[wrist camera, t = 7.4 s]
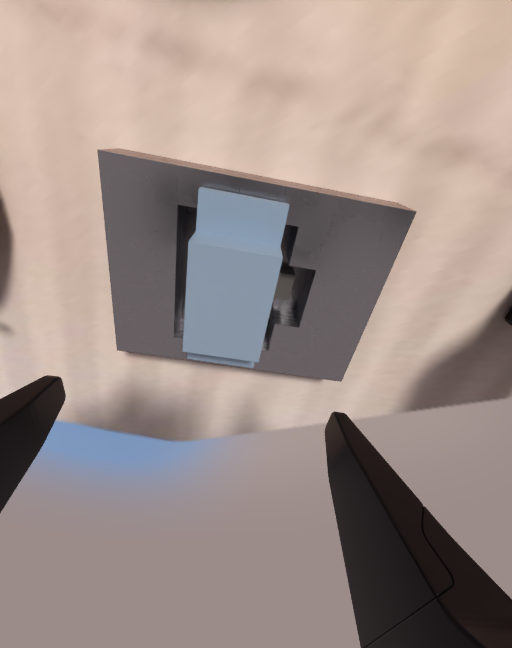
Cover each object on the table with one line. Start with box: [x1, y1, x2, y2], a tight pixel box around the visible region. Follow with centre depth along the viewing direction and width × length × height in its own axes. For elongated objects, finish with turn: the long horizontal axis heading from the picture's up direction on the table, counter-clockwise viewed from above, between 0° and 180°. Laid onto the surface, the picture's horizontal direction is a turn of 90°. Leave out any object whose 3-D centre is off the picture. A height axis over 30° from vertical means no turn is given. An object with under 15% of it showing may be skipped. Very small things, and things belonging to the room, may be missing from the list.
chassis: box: [98, 149, 416, 381], centre depth 19 cm, size 16×12×2 cm
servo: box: [183, 187, 295, 368], centre depth 17 cm, size 6×10×5 cm, turn 170°
